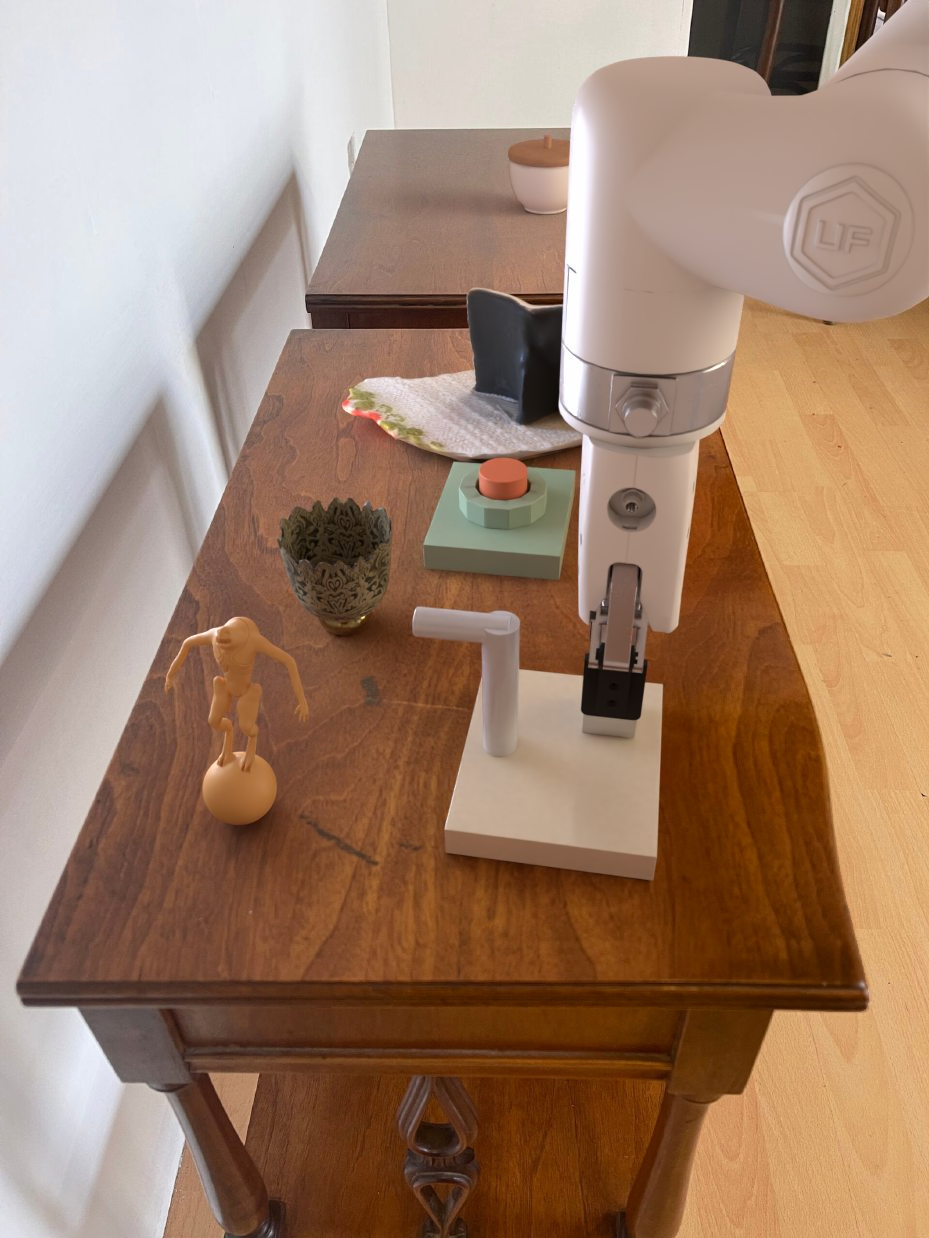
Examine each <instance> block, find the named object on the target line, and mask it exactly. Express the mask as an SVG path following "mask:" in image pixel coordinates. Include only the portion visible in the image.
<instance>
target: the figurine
mask: <svg viewBox="0 0 929 1238" xmlns="http://www.w3.org/2000/svg"><path fill="white" fill-rule="evenodd" d="M207 645H212V652H213V657H214V659H215V661H216V663H217V664H218V666H219V667H220V669H221V672H222V673H223V675H224V676H220V675H216V676H215V677H214V678H213V680H212V683H213V696H212V700H211V705H210V712H209V716H208V718H207V722H208V724H209V725H210V727H211V728H212V729H214V730H218V731H221V732H225V733H224V738H223V744H222V745H223V746H222V750H221V754H220V755H219V756H218V757H217V760H215V761H214V762H213V763H212V764H211V765H210V767H209V768H208V770H207V771H206V773H205V775H204V778H203V782H202V797H203V798H202V799H203V802H204V804H205V806H206V808H207V809H208V812H210V813H211V815H213V817H214V818H216V819H217V820H219V821H221V822H222V823H224V824H227V825H233V826H245V825H249V824H252V823H255V822H257V821H258V820H259V819H262V818H263V817H264V816H265V815H266V814H267V813H268V812H269V811H270V809H271V808H272V806H273V804H274V803H275V800H276V798H277V797H276V796H277V792H278V783H277V777H276V774H275V772H274V770H273V768H272V767H271V765H270V764H269V763H268V762H267V761H266V760H265V759H264V758H263V757H262V756H260V755H257V754H256V751H257V744H258V734H259V726H258V725H257V724H256V721H257V718H258V715H259V708H260V707H259V706H260V700H261V698H262V696H263V688H262V686H261V685H260V684H259V683H256V682H254V683H251V679H252V672H253V669H254V666H255V663H256V662H255V661H256V659H257V654H262V655H265V656H267V657H268V658H270V659H272V660H274V661H276V662H278V663H280V664H282V665H285V666H286V669H287V672H288V676H289V677H290V681H291V686H292V689H293V692H294V694H295V697H296V699H297V700H298V705H297V706H296V708H295V710H294V713H293V714H294V715H296V714H297V713H298V712H299V714H298V715H299V716H298V723H301V721H302V719H303V723H305V722H306V720H309V718H310V710H309V706H308V702H307V700H306V697H305V692H304V687H303V684H302V681H301V677H300V675H299V669H298V664H297V661H296V659H294V657H293V656H291V655H290V654H289V653H287V651H284V650H282V649H281V648H280V647H278V646H276V645H274V644H273V643H271V642H270V641H269V639H267V637H264V636H263V635H261V633H260V630H259V627H258V626H257V624H256V623H255V622H254V621H253V620H252V619H250V618H249V617H246V616H235V617H231V619H229V620H228V621H227V622H226V623H225V624H223V625H222V626H218V627H213V628H211V629H209V630H207V631H205V632H201V633H197V634H194V635H191V636H189V637H187V638H186V639H185V640H184V641H183V642H182V645H181V647H180V650H179V652H178V654H177V655H176V657H175V659H174V660H173V661H172V663H171V664H170V668H169V670H168V672H167V674H166V678H165V685H164V694H165V695H166V696H168V694H169V690H170V689H171V687H172V678H173V677H174V675H176V674H177V672H178V671H179V670H180V668H181V667H182V665H183V664H184V661H185V660H186V658H187V656H188V655H189V652H190V649H191V648H192V647H201V646H207ZM233 697H234V698H239V699H238V701H237V702H236V707H235V711H236V716H237V717H238V725H239V729H240V731H241V732H242V734H243V735H244V736H247V737H248V739H247V745H246V750H245V751H234V752H233V745H234V734H235V733H234V732H235V730H234V726H233V723H232V720H231V719H229V718H228V717H224V716H225V715H226V714H228V713H229V712H230V711H231V709H232V704H233Z"/></svg>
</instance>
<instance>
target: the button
mask: <svg viewBox="0 0 929 1238" xmlns="http://www.w3.org/2000/svg"><path fill="white" fill-rule="evenodd" d="M481 464H482V465H481V466H480V469H479V490H480V493H481V494H482V496H485V497H487V498H489V499H492V500H502V501H508V500H512V499H517V498H521V497H522V496H524V495H525V494H526V492H527V467H528V466H527V465H526V464H525V463H524V462H522V460H520V461H518V460H516V459H512V458H495V459H491V460H488V461H486V462H482V463H481Z"/></svg>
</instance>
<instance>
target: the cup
mask: <svg viewBox="0 0 929 1238" xmlns="http://www.w3.org/2000/svg"><path fill="white" fill-rule="evenodd" d="M373 509H374V508H373V506H372V503H371V501H370V500H367V501H366V502H365V503H364V504H363V506H362V508H361V507H360V505H359V504H357V503H356V501H355V500H354V498H352V497H347V498H346V500H345V502H344V501H342V500H341V499H340V498H339V497H338V496H335V497H333V498H332V499H331V501H330V502H329V504H328V506H327V510H326V508H325V507H323V504H322V501H321V500H319V499H317V500H316V501H314V503H313V505H312V508H311V510H308V509H306V508H304V507H303V506H298V505H297V506H294V508H293V509H292V511H290V514H289V515H288V518H285V517H282V518H280V520H279V528H280V531H281V532H280V533H281V535H280V536H279V537H275V540H276V543H277V545H278V548H279V551H280V555H281V558H282V560H283V565H284V568H285V570H286V574H287V576H288V579H289V582H290V585H291V588H292V590H293V592H294V595H295V597H296V599H297V600H298V602H299V603H300V605H301V606H302V607H303V608H304V610H305V611H307V612H308V613H310V615H312V616H314V617H316V618H318V621H319V623H320V625H321V626H322V628H323V629H325V630H326V631H327V632H328V633H330V634H331V635H335V636H343V637H344V636H352V635H355V634H358V633H360V632H362V631H363V630H364V629H366V628H367V627H368V625H369V624H370V622H371V619H372V617H373V612H374V610H376V608H378V607H379V606H380V604H381V602H382V601H383V600H384V598H385V595H386V593H387V591H388V587H389V581H390V576H391V566H392V548H393V547H392V544H393V533H392V530H393V527H392V518H391V517H388V513H387V510H386V508H385V507H383V506H381V507H379V508H376V509H374V510H373Z"/></svg>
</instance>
